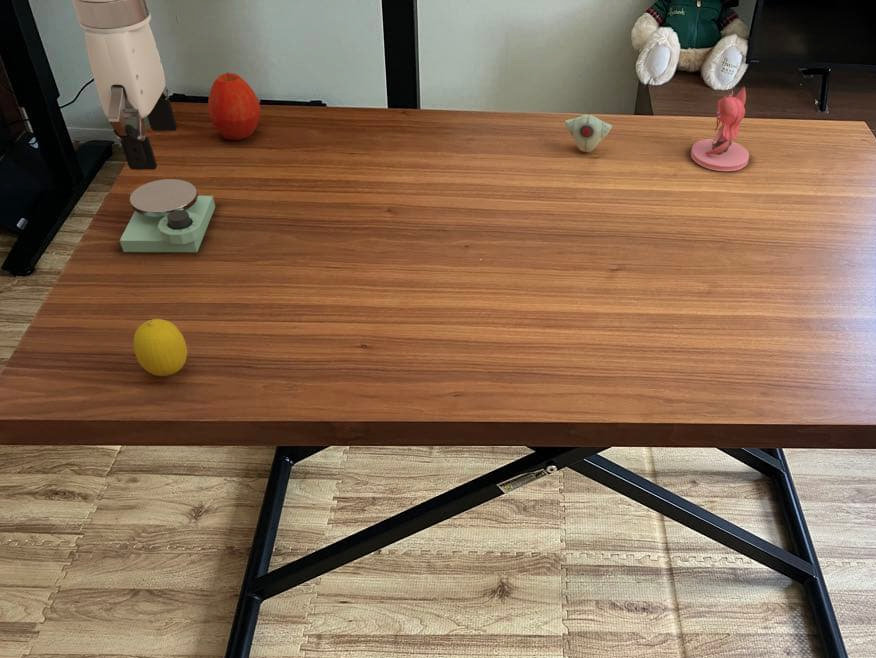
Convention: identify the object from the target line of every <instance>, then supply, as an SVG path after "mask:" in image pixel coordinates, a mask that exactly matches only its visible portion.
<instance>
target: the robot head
mask: <svg viewBox="0 0 876 658" xmlns="http://www.w3.org/2000/svg"><path fill="white" fill-rule="evenodd" d="M564 122H565V129H566V130H567V131H568V133H569V134H570V136H571V137H572V138H573V140H574V142H575V145H576V147H577V148H578V149H579V150H580V151H581V152H584V153H591V152H592V151H594V149H596V147H597V146H598V145H599V143H600V142H601V141H602V140H604V138H606V137H607V136H608V134H609V133H610V132H611V129H612V128H613V124H611V123H608V122H606V121H603V120H601V119H600V118H598V117H596V116H595V115H591V114H582V115H580V116H578V117H575V118H570V119H565V120H564Z"/></svg>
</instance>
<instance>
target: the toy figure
mask: <svg viewBox="0 0 876 658" xmlns="http://www.w3.org/2000/svg"><path fill="white" fill-rule="evenodd" d="M733 95H734V91H733V90H731V93H730V94H729V95H728V96H727V94H725V95H724V96H723V97H722V98H721V99H719V100H718V101H717V107H716V108H717V109H716V112H715V114H717V115H716V121H715V123H716V126H715V129H714V132H716V135H715V136H714V138H705V139H701V140H699V141H696V142H695V143H694V144H693V145H692V147H691V152H690V158H691V159H692V160H693V161H694V162H695V163H696V164H698V165H700V166H701V167H703V168H706V169H709V170H712V171H718V172H735V171H739V170H741V169H743V168H745V167H746V166H747V165H748V163H749V159H750V153H749V150H747V149H746V148H745V147H744V146H743V145H741V144H740V143H737V142H735V141H734V140H736V138H737V137H738V134H739V132H740V130H741V125H740V124H741V122H742V121H743V119H744V118H745V116H746V115H745V114H746V109H745V104H746V102H747V101H746V100H747V92H746V87H745V86H743V87H742V88H741V89H740V90H739V91H738V93H737V94H736V95H735V96H733ZM720 123H721V126H720V127H719V125H720Z"/></svg>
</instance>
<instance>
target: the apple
mask: <svg viewBox="0 0 876 658" xmlns="http://www.w3.org/2000/svg"><path fill="white" fill-rule="evenodd" d="M208 95H209V96H208V101H207V110H208V111H207V112H208V117H209V119H210V122H211V123H212V125H213V127H214V128H215V130H217V132H218V133H219V134H220V135H221V136H222V137H223V138H224V139H225V140H229V141H234V142H237V141H242V140H244V139H248V138H249V137H250V136H252V135H253V134H254V132H255V130H256V129H257V128H258V125H259V124H258V123H259V120H260V117H261V105H260V101H259V98H258V96H257V95H256V93H255V92H254V90H253V88H252V87H251V86H250V85H249V83H248V82H247V81H246V80H245V79H243V77H241V76H240V75H238V74H236V73H233V72H226V73H223V74H221V75H219V76H218V77H217V78H216V79H215V80H214V81H213V83H212V85H211V88H210V92H209V94H208Z"/></svg>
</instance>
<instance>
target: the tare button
mask: <svg viewBox="0 0 876 658" xmlns="http://www.w3.org/2000/svg"><path fill="white" fill-rule="evenodd" d="M167 219H168V222H169V225H170V228H171V229H173V230H181V229H185V228H188V227H189V226H191V221H190V217H189V214H188V212H186V211H183V210H177V211H173V212H171V213H169V214H168V216H167Z"/></svg>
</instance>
